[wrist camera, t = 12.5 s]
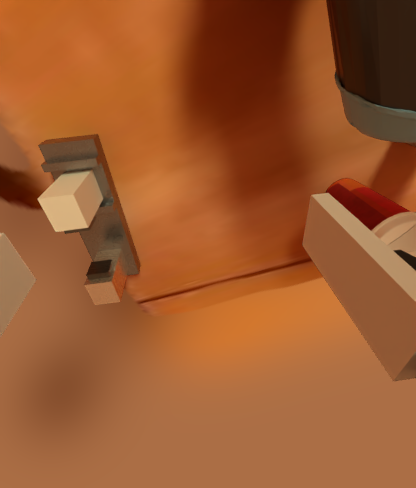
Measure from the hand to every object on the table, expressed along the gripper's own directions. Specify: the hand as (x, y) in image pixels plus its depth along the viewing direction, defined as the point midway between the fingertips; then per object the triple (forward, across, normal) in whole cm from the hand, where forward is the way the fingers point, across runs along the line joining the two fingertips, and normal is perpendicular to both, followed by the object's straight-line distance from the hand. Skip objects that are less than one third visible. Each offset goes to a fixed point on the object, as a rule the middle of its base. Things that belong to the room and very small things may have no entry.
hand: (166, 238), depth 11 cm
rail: (+29, -14, -13) cm, 34 cm away
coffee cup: (+29, +27, -15) cm, 42 cm away
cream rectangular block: (+26, -14, -7) cm, 31 cm away
